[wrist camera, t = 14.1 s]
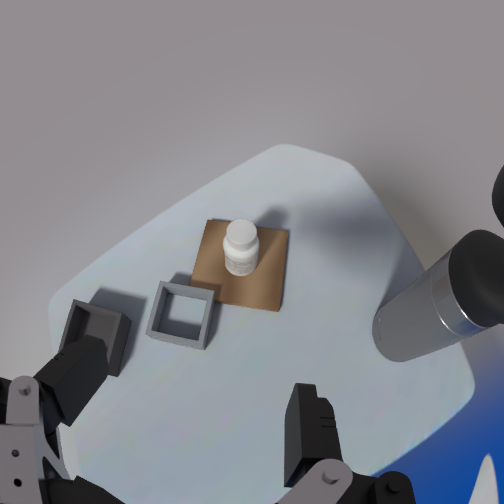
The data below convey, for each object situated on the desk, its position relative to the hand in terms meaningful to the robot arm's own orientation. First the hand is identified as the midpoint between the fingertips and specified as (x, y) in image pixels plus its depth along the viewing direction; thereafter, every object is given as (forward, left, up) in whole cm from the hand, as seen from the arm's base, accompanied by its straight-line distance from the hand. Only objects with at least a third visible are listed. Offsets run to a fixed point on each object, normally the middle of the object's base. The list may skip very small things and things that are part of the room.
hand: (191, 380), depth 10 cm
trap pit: (+18, -2, -24) cm, 30 cm away
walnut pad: (+1, -17, -24) cm, 29 cm away
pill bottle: (+1, -17, -23) cm, 29 cm away
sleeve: (+7, -8, -24) cm, 26 cm away
